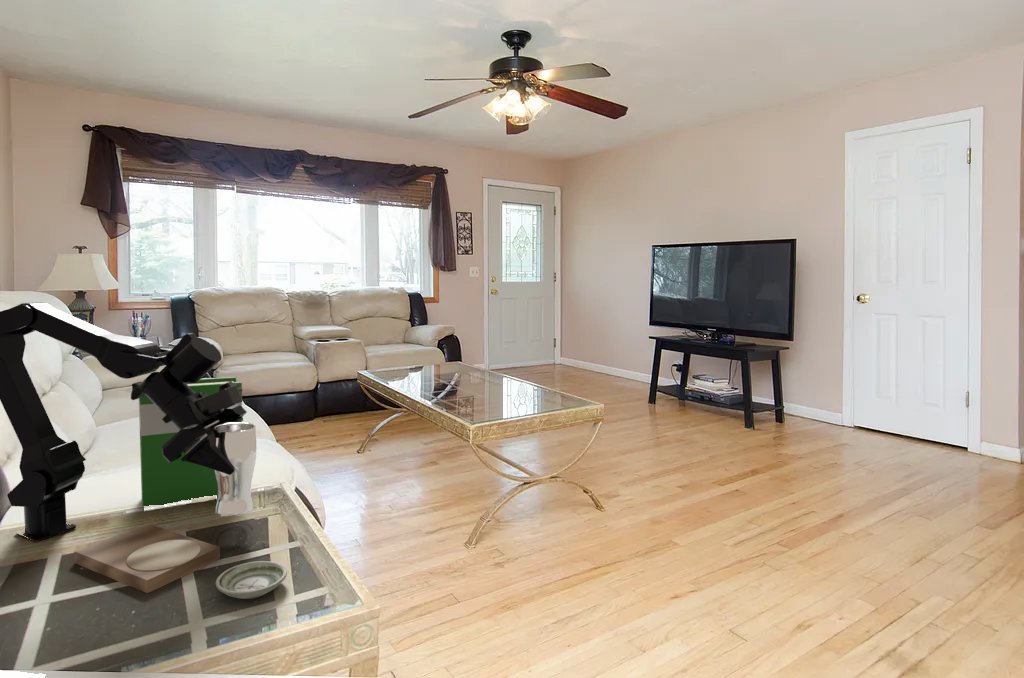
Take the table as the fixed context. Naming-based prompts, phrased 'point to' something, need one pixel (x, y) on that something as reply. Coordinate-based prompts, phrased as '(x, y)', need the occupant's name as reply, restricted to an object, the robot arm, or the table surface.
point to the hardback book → (177, 477)
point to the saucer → (251, 579)
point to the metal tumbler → (241, 454)
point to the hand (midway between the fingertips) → (241, 466)
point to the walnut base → (147, 557)
